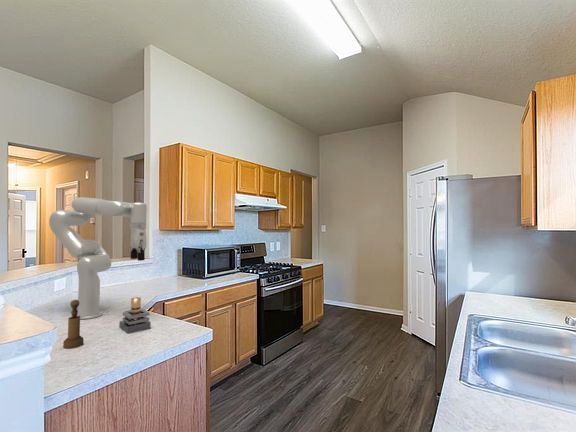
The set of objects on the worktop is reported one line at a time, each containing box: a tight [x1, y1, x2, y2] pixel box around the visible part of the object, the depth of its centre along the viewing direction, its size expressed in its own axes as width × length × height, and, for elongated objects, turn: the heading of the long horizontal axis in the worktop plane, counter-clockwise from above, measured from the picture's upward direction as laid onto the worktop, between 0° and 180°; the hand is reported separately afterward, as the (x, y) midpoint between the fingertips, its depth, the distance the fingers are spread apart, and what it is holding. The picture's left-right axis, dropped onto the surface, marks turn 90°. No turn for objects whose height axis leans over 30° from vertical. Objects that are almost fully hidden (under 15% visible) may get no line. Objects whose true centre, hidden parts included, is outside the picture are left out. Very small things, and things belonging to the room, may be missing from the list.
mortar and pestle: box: [62, 299, 84, 349], centre depth 123 cm, size 7×6×18 cm
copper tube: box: [130, 297, 142, 320], centre depth 144 cm, size 4×4×11 cm
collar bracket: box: [118, 308, 151, 335], centre depth 144 cm, size 11×10×7 cm
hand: (137, 259), depth 159 cm, fingers open, 9 cm apart
